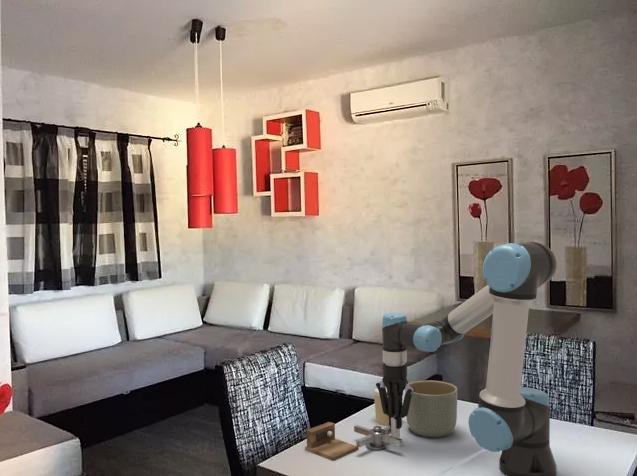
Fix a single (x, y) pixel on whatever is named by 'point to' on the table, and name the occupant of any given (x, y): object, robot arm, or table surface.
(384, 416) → the coffee cup
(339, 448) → the stand
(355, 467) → the table surface
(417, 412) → the planter
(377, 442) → the silver cross-shaped piece
